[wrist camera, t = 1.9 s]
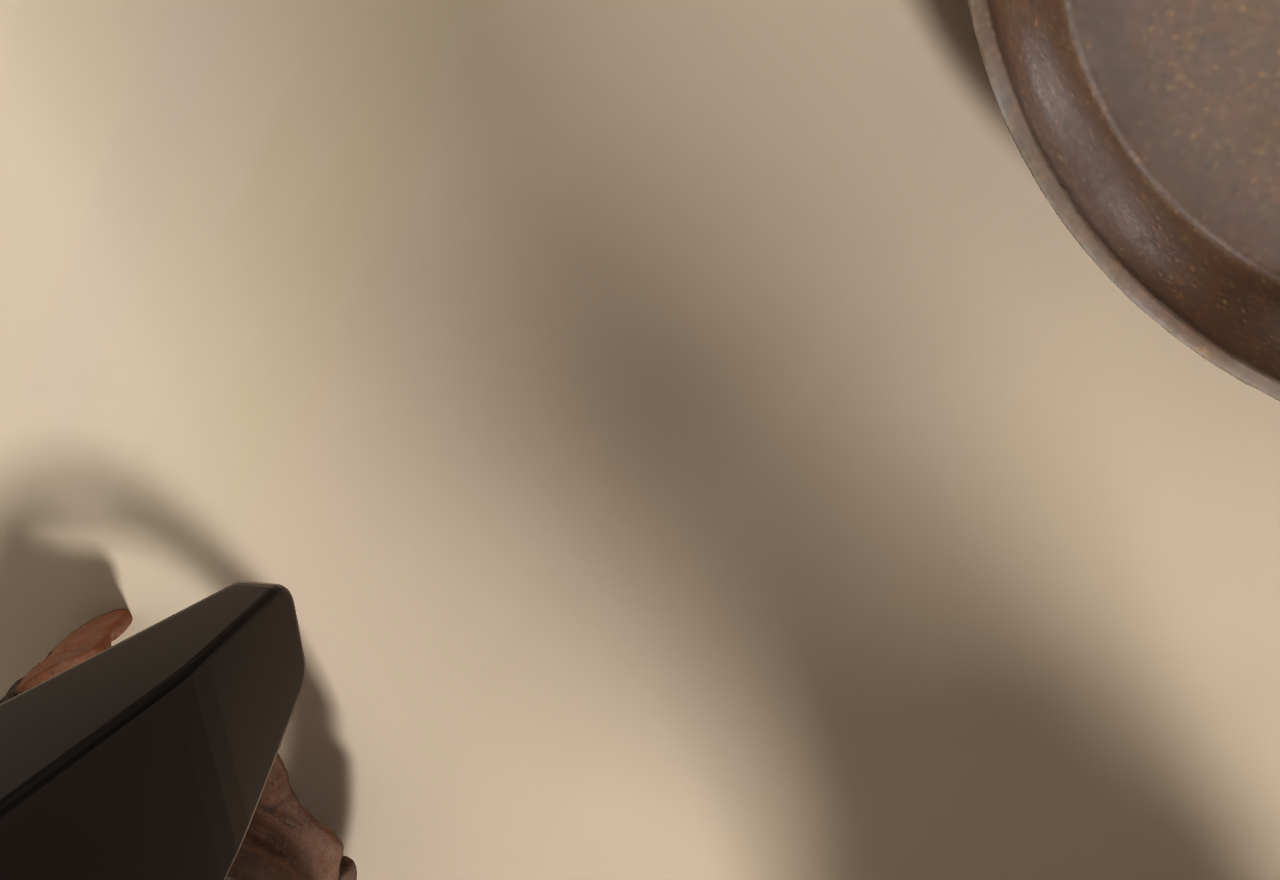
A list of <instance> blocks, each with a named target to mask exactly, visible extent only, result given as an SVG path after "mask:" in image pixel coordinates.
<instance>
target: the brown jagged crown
mask: <svg viewBox="0 0 1280 880" xmlns="http://www.w3.org/2000/svg"><path fill="white" fill-rule="evenodd" d="M131 622H132V615H131V614H130V612H129V611H128V610H126V609H117V610H114V611H112V612H110V613H107V614H104V615H101V616H99V617H97V618H95V619H93V620H91V621H89V622H88V623H86V624H84V625H83V626H81V627H79V628H78V629H77V630H75V631H74V632H72V633H71V634H70V635H69V636H68V637H66V638H65V639H64V640H63V641H62V642H61V643H60V644H59V645H58V646H57V647H56V648H55V649H54V650H53V651H51V652H50V653H49V655H48V656H47V657H46V659H45V660H43V661H42V662H41V663H39V664H38V665H37V666H35V667H34V668H33V669H32V670H31V671H30V672H28V673H27V675H26V676H25V677H23V678H21V679H19V680H18V681H17V682H16V683H14V685H13V686H12V687H11V688H10V689H9V691H8V692H7V694H6V696H5V697H4V698H3V699H1V700H0V704H1V703H3V702H5V701H7V700H9V699H11V698H13V697H15V696H17V695H19V694H21V693H23V692H25V691H27V690H29V689H30V688H32V687H34V686H36V685H38V684H40V683H42V682H44V681H46V680H48V679H50V678H52V677H54V676H56V675H58V674H60V673H62V672H63V671H65V670H67V669H69V668H71V667H73V666H75V665H77V664H79V663H81V662H83V661H85V660H87V659H89V658H91V657H93V656H94V655H96V654H98V653H100V652H102V651H104V650H106V649H108V648H110V647H111V642H112V641H114V640H115V639H116V638H118V637H119V636H120V635H121V634H122V633H123V632H124V631H125V630H126V629H127V628H128V626H129V625H130V624H131ZM356 877H357V871H356V865H355V863H354V861H353V860H352V859H350V858H349V857H347V856H343V844H342V842H341V841H340V839H339V838H338V837H337V836H336V835H335V834H334V832H333V831H332V830H331V829H330V828H329V827H328V826H326V825H325V824H323V823H321V822H319V821H318V820H317V819H316V818H315V817H314V816H313V815H312V814H311V813H310V812H309V811H308V810H306V809H305V808H304V807H303V806H302V805H301V804H300V802H299V800H298V799H297V797H296V795H295V793H294V792H293V790H292V788H291V786H290V783H289V778H288V773H287V771H286V768H285V766H284V763H283V761H282V759H281V758H280V756H279V754H278V752H277V755H276V758H275V760H274V763H273V765H272V768H271V771H270V773H269V776H268V778H267V781H266V784H265V786H264V789H263V791H262V794H261V797H260V799H259V802H258V804H257V807H256V810H255V812H254V815H253V817H252V820H251V823H250V825H249V828H248V830H247V832H246V835H245V837H244V840H243V842H242V844H241V847H240V849H239V852H238V854H237V856H236V858H235V860H234V862H233V864H232V866H231V868H230V870H229V872H228V874H227V877H226V879H225V880H356Z"/></svg>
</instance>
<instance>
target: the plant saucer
mask: <svg viewBox="0 0 1280 880" xmlns="http://www.w3.org/2000/svg"><path fill="white" fill-rule="evenodd" d="M967 1H968V6H969V10H970V15H971V19H972V24H973V28H974V32H975V36H976V40H977V43H978V47H979V50H980V54H981V57H982V60H983V63H984V67H985V70H986V73H987V76H988V79H989V83H990V86H991V88H992V91H993V93H994V96H995V98H996V100H997V103H998V105H999V108H1000V110H1001V113H1002V115H1003V117H1004V120H1005V122H1006V124H1007V127H1008V129H1009V131H1010V133H1011V135H1012V137H1013V139H1014V141H1015V143H1016V145H1017V147H1018V149H1019V151H1020V153H1021V155H1022V157H1023V159H1024V161H1025V163H1026V164H1027V166H1028V168H1029V170H1030V171H1031V173H1032V175H1033V177H1034V178H1035V180H1036V182H1037V184H1038V185H1039V187H1040V189H1041V191H1042V192H1043V194H1044V195H1045V197H1046V198H1047V200H1048V201H1049V203H1050V204H1051V206H1052V207H1053V209H1054V210H1055V212H1056V213H1057V215H1058V216H1059V218H1060V219H1061V221H1062V222H1063V223H1064V225H1065V226H1066V227H1067V229H1068V230H1069V231H1070V233H1071V234H1072V235H1073V236H1074V238H1075V239H1076V240H1077V242H1078V243H1079V244H1080V245H1081V247H1082V248H1083V249H1084V251H1085V252H1086V253H1087V254H1088V255H1089V256H1090V257H1091V258H1092V260H1093V261H1094V262H1095V263H1096V264H1097V265H1098V266H1099V267H1100V268H1101V270H1102V271H1103V272H1104V273H1105V274H1106V275H1107V276H1108V277H1109V278H1110V279H1111V280H1112V281H1113V282H1114V283H1115V284H1116V285H1117V286H1118V287H1119V288H1120V289H1121V290H1122V291H1123V293H1124V294H1125V295H1126V296H1127V297H1128V298H1129V299H1130V300H1131V301H1132V302H1134V303H1135V304H1136V305H1137V306H1138V307H1139V308H1141V309H1142V310H1143V311H1144V312H1145V313H1147V314H1148V315H1149V316H1150V317H1151V318H1152V319H1154V320H1155V321H1156V322H1157V323H1158V324H1160V325H1161V326H1162V327H1163V328H1164V329H1166V330H1167V331H1168V332H1169V333H1171V334H1172V335H1173V336H1174V337H1176V338H1177V339H1178V340H1179V341H1181V342H1182V343H1184V344H1185V345H1186V346H1188V347H1189V348H1191V349H1192V350H1193V351H1195V352H1196V353H1198V354H1199V355H1201V356H1202V357H1203V358H1205V359H1206V360H1208V361H1209V362H1211V363H1212V364H1214V365H1215V366H1217V367H1219V368H1220V369H1222V370H1224V371H1225V372H1227V373H1229V374H1230V375H1232V376H1234V377H1235V378H1237V379H1239V380H1240V381H1242V382H1244V383H1245V384H1247V385H1249V386H1252V387H1254V388H1256V389H1258V390H1260V391H1262V392H1264V393H1266V394H1267V395H1269V396H1271V397H1273V398H1275V399H1276V400H1279V401H1280V0H967Z"/></svg>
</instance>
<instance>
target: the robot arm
mask: <svg viewBox="0 0 1280 880" xmlns="http://www.w3.org/2000/svg"><path fill="white" fill-rule="evenodd" d="M304 676H305V658H304V653H303V647H302V642H301V637H300V632H299V626H298V621H297V616H296V611H295V605H294V601H293V598H292V595H291V593H290V591H289V590H288V589H287V588H286V587H284V586H282V585H280V584H270V583H258V582H237V583H234V584H232V585H230V586H228V587H226V588H224V589H222V590H220V591H219V592H217V593H215V594H213V595H211V596H209V597H207V598H205V599H203V600H201V601H199V602H197V603H195V604H193V605H191V606H189V607H188V608H186V609H184V610H182V611H180V612H178V613H176V614H174V615H172V616H170V617H168V618H166V619H164V620H162V621H160V622H158V623H156V624H155V625H153V626H151V627H149V628H147V629H145V630H143V631H141V632H139V633H137V634H135V635H133V636H131V637H129V638H127V639H125V640H124V641H122V642H120V643H118V644H116V645H114V646H112V647H110V648H108V649H106V650H104V651H102V652H100V653H98V654H96V655H94V656H93V657H91V658H89V659H87V660H85V661H83V662H81V663H79V664H77V665H75V666H73V667H71V668H69V669H67V670H65V671H63V672H62V673H60V674H58V675H56V676H54V677H52V678H50V679H48V680H46V681H44V682H42V683H40V684H38V685H36V686H34V687H32V688H30V689H29V690H27V691H25V692H23V693H21V694H19V695H17V696H15V697H13V698H11V699H9V700H7V701H5V702H3V703H1V704H0V880H225V879H226V877H227V874H228V872H229V870H230V868H231V866H232V864H233V862H234V860H235V858H236V856H237V854H238V852H239V849H240V847H241V844H242V842H243V840H244V837H245V835H246V832H247V830H248V828H249V825H250V823H251V820H252V817H253V815H254V812H255V810H256V807H257V804H258V802H259V799H260V797H261V794H262V791H263V789H264V786H265V784H266V781H267V778H268V776H269V773H270V771H271V768H272V765H273V763H274V760H275V758H276V755H277V752H278V750H279V747H280V745H281V742H282V739H283V737H284V734H285V732H286V729H287V726H288V724H289V721H290V719H291V716H292V713H293V711H294V708H295V706H296V703H297V700H298V698H299V695H300V692H301V689H302V686H303V682H304Z"/></svg>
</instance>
